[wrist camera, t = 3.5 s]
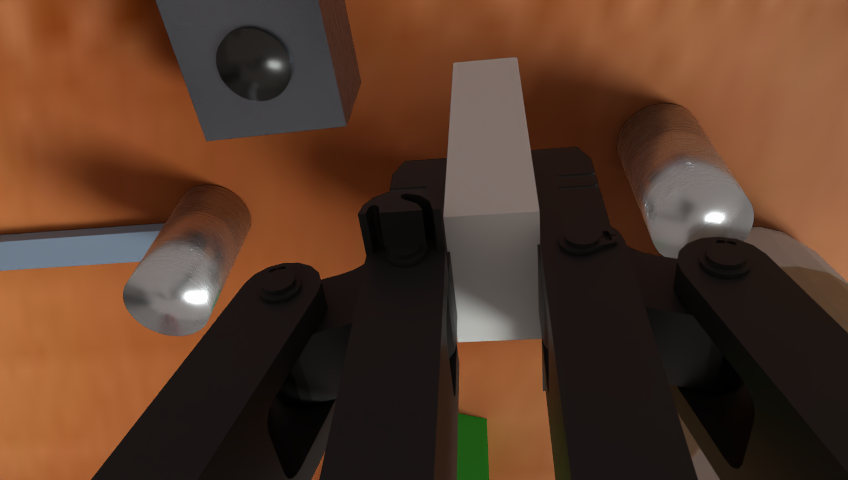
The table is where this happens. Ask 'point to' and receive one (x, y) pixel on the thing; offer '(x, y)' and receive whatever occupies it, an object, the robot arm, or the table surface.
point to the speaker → (264, 64)
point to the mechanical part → (472, 448)
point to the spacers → (638, 151)
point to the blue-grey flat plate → (77, 247)
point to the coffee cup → (812, 276)
